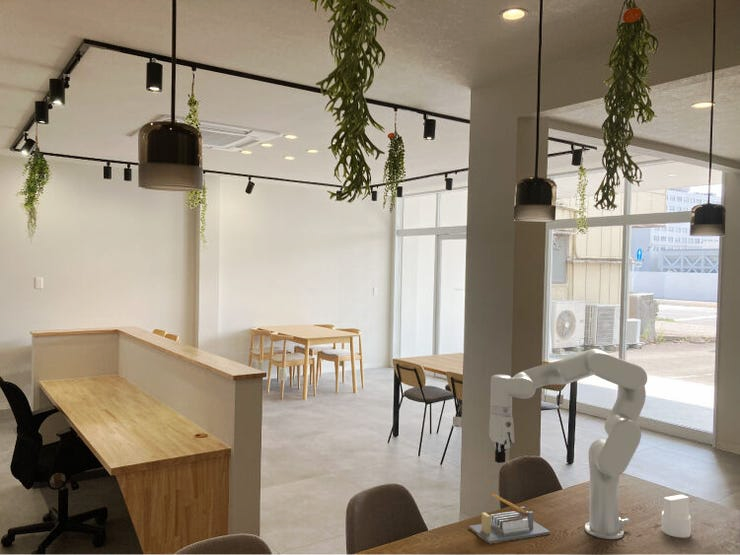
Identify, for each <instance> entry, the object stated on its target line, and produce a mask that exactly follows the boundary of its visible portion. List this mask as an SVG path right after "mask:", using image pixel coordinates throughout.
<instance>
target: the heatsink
mask: <svg viewBox="0 0 740 555" xmlns="http://www.w3.org/2000/svg"><path fill="white" fill-rule="evenodd" d="M490 516H491V527H493V528H494V529H495V530H497V531H498V532H499V533H501V534H502V535H503V536H507V535H513V534H519V533H525V532H529V527H528V519H525V517H526V516H525V517H522V515H520V512H517V511H515V510H514V511H513V510H512V511H505V512H499V513H494V514H492V513H491V514H490Z"/></svg>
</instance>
